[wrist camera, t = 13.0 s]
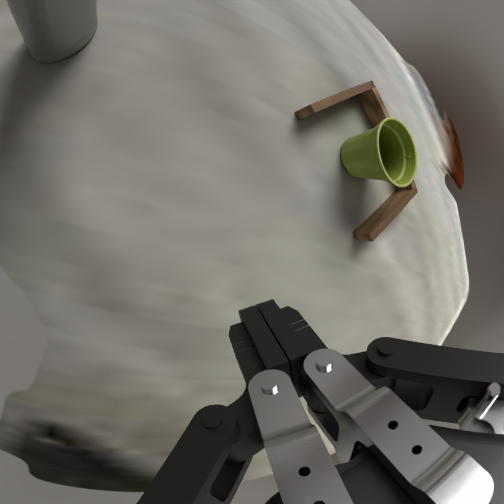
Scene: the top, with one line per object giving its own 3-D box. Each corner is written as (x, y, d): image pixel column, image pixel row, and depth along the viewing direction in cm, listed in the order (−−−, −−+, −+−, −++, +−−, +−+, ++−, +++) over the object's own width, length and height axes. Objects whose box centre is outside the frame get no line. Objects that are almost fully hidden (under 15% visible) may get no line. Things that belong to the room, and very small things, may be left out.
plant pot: (375, 190, 40) (419, 189, 32) (333, 187, 36) (380, 184, 29) (371, 134, 39) (413, 126, 31) (329, 123, 35) (373, 109, 27)
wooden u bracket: (294, 112, 32) (310, 104, 29) (357, 86, 36) (372, 80, 33) (355, 238, 39) (372, 241, 36) (402, 192, 44) (417, 192, 40)
